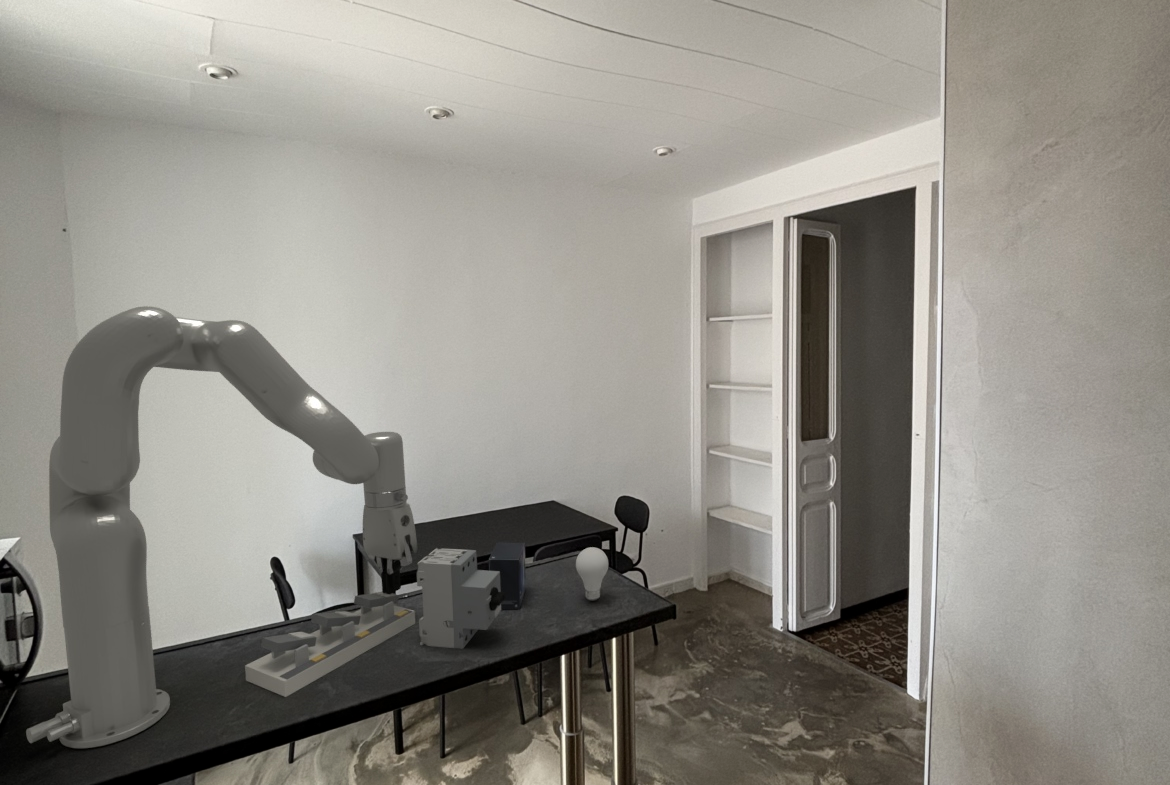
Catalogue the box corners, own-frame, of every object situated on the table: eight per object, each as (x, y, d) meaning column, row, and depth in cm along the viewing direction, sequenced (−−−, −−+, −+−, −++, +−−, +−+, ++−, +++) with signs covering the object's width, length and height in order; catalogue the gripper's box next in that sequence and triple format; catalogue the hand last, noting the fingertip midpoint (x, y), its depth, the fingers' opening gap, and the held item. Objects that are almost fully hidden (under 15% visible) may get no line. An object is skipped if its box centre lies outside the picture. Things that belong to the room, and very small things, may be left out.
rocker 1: (276, 652, 94) (278, 641, 94) (260, 646, 96) (262, 636, 96) (315, 646, 100) (316, 636, 100) (299, 640, 102) (301, 630, 102)
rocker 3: (369, 608, 110) (370, 598, 110) (353, 603, 112) (355, 594, 112) (397, 603, 116) (399, 594, 116) (382, 599, 118) (384, 590, 118)
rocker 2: (326, 627, 102) (328, 617, 102) (310, 622, 104) (313, 612, 104) (358, 624, 108) (360, 615, 108) (343, 619, 110) (345, 610, 110)
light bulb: (579, 593, 128) (578, 542, 127) (610, 594, 127) (609, 543, 126) (574, 607, 121) (573, 553, 120) (607, 608, 120) (606, 554, 120)
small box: (521, 610, 121) (520, 558, 120) (488, 610, 121) (487, 559, 120) (527, 588, 131) (525, 541, 130) (497, 589, 131) (495, 541, 130)
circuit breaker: (496, 651, 105) (493, 567, 103) (420, 645, 108) (416, 562, 106) (510, 631, 112) (507, 551, 111) (438, 625, 115) (435, 548, 114)
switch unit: (285, 697, 92) (283, 663, 92) (246, 680, 97) (243, 648, 97) (415, 623, 116) (414, 596, 115) (378, 613, 121) (376, 587, 120)
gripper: (429, 496, 115) (434, 590, 117) (373, 489, 122) (379, 577, 124) (399, 507, 108) (405, 606, 110) (342, 498, 116) (349, 591, 117)
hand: (391, 590), depth 117 cm, fingers closed
